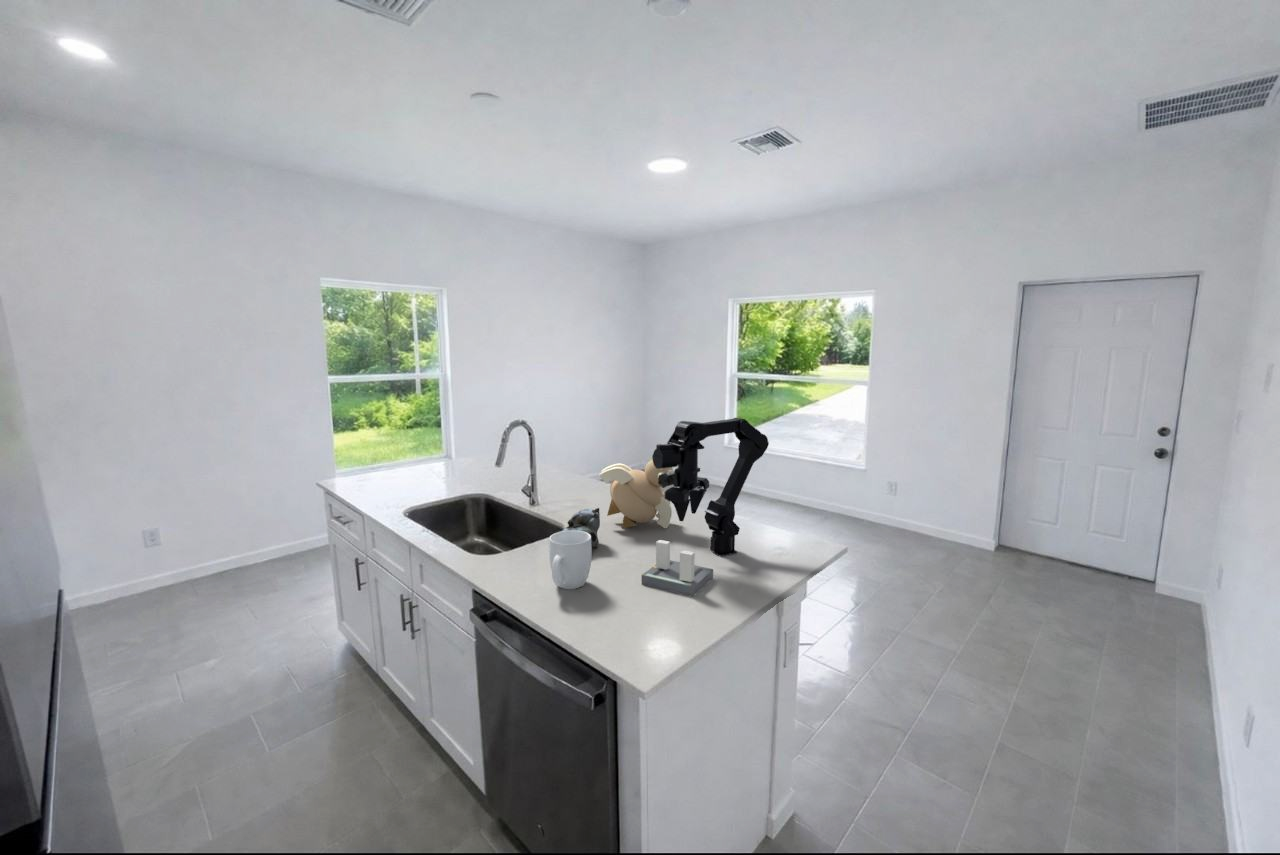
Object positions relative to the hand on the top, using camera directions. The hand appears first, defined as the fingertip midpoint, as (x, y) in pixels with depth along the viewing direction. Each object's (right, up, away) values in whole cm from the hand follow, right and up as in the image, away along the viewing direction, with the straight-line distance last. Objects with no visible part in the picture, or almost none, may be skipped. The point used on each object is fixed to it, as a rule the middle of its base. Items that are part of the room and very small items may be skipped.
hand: (687, 517), depth 158 cm
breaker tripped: (-8, -12, -12) cm, 18 cm away
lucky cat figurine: (-33, -12, +13) cm, 38 cm away
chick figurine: (-15, -9, +34) cm, 38 cm away
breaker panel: (-4, -15, -13) cm, 20 cm away
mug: (-33, -16, -16) cm, 40 cm away
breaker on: (-2, -13, -19) cm, 23 cm away
